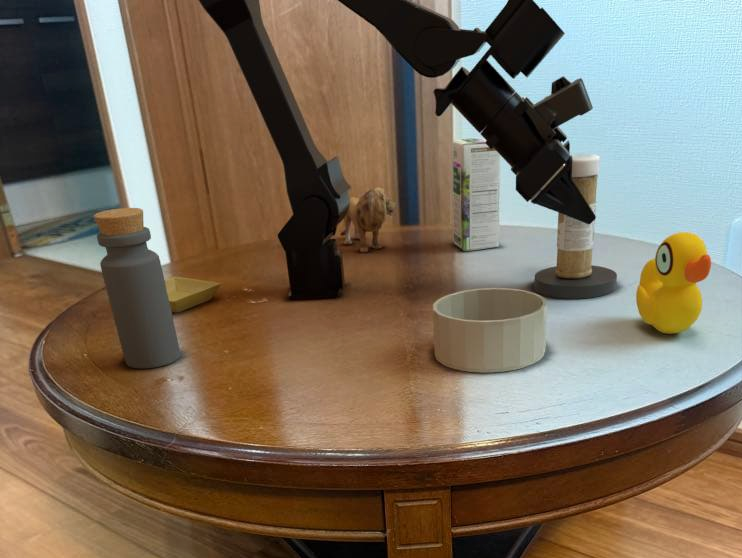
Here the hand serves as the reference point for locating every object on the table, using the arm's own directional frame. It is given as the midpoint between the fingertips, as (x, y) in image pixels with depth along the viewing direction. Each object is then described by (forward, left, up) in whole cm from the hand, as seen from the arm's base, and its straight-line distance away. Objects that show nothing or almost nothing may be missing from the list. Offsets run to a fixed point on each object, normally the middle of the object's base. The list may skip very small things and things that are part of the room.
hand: (591, 212), depth 95 cm
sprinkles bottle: (-2, 0, -7) cm, 8 cm away
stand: (-1, 0, -9) cm, 9 cm away
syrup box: (-12, +25, -9) cm, 29 cm away
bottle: (-49, -19, -9) cm, 54 cm away
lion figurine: (-29, +29, -9) cm, 42 cm away
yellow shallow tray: (-52, +2, -9) cm, 53 cm away
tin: (-13, -22, -9) cm, 27 cm away
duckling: (+6, -18, -9) cm, 21 cm away
